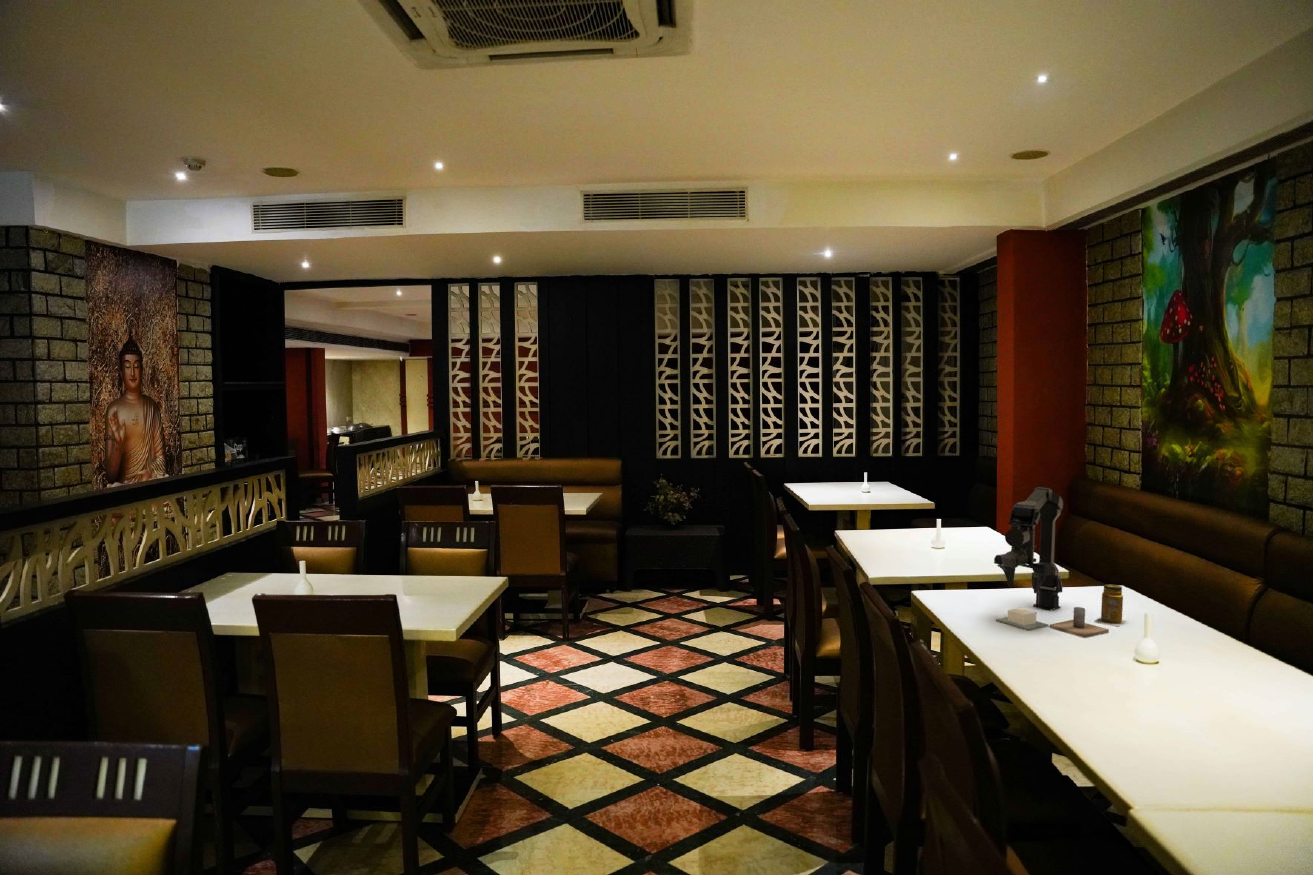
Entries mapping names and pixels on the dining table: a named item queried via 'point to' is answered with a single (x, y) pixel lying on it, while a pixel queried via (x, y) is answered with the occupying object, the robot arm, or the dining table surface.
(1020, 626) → the pad
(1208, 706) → the dining table surface
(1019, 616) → the tan cardboard carton
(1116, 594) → the condiment
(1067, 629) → the post base
